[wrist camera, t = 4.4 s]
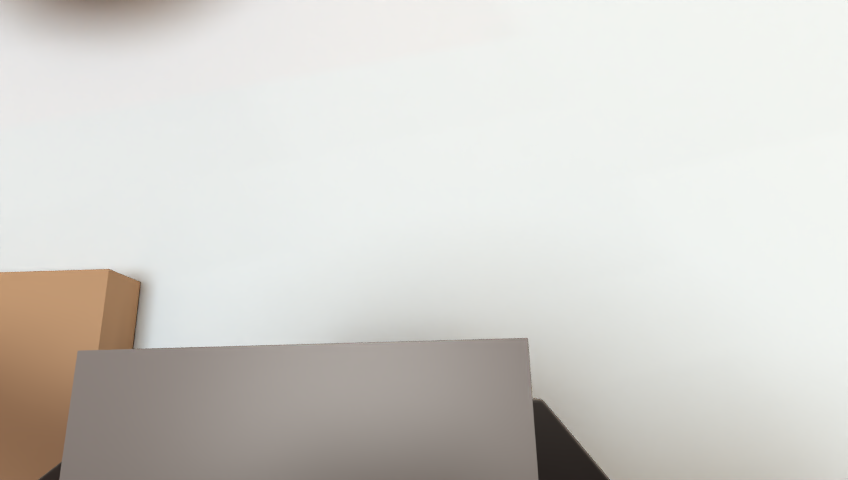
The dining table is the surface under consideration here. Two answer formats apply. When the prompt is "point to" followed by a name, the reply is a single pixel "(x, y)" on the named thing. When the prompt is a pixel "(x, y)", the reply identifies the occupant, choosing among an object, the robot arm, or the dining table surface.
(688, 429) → the dining table surface
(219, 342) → the dining table surface
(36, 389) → the cardboard box
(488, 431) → the gift box with lid
